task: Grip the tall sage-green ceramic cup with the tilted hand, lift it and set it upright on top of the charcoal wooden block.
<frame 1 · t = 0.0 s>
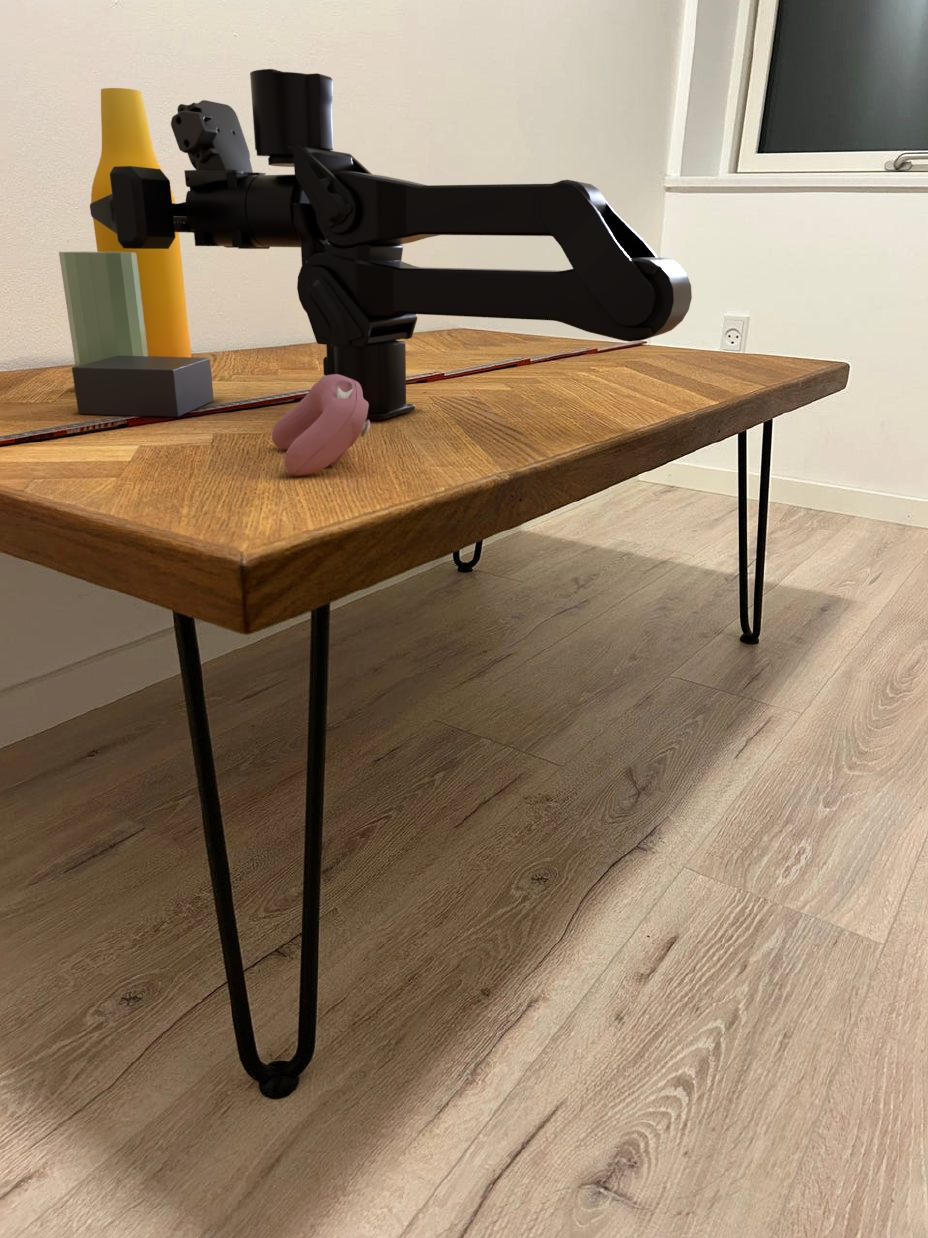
hand: (129, 211, 85), 17 cm above the table, tool horizontal, fingers open, 9 cm apart
cup: (115, 388, 93), on the table
block: (149, 407, 83), on the table
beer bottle: (152, 368, 110), on the table
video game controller: (321, 463, 64), on the table
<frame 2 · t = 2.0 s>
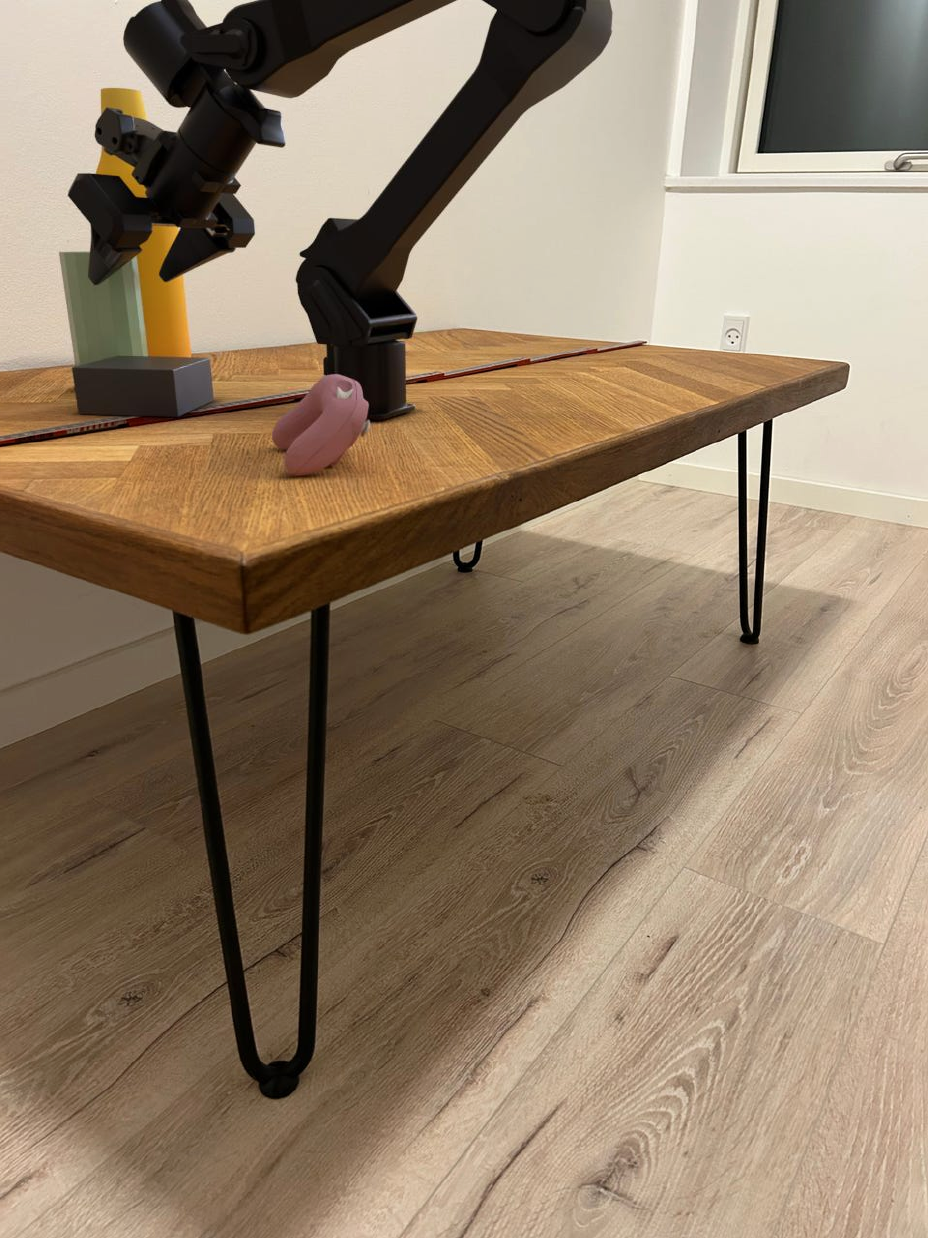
hand: (128, 279, 88), 11 cm above the table, tool tilted 45°, fingers open, 9 cm apart
nothing on the table moved.
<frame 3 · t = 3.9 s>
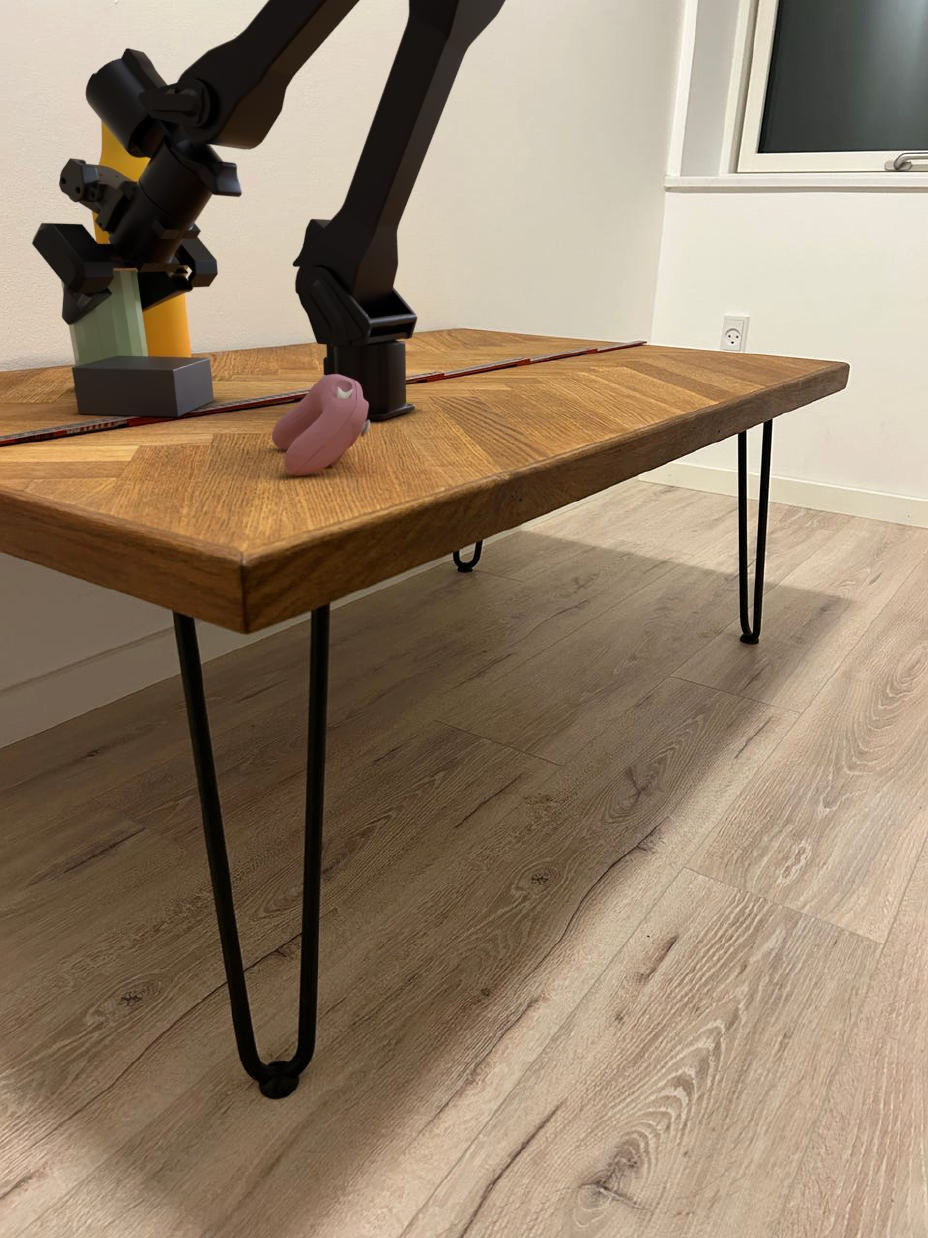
hand: (95, 318, 91), 7 cm above the table, tool tilted 45°, fingers closed on cup, 7 cm apart
cup: (116, 387, 94), on the table, touching gripper
everything else where it was.
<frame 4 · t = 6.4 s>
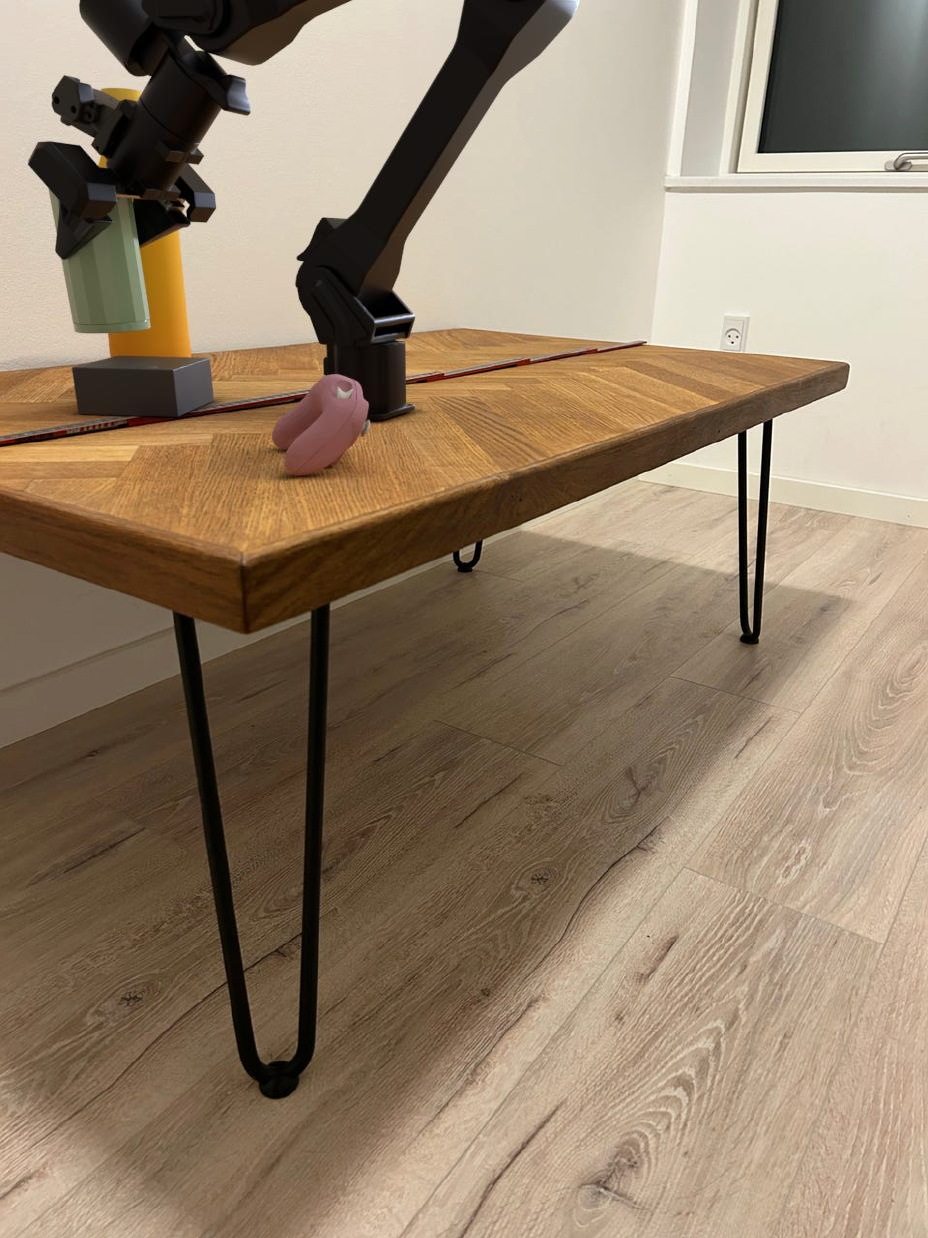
hand: (88, 255, 86), 13 cm above the table, tool tilted 45°, fingers closed on cup, 7 cm apart
cup: (113, 329, 88), point 6 cm above the table, touching gripper
everything else where it was.
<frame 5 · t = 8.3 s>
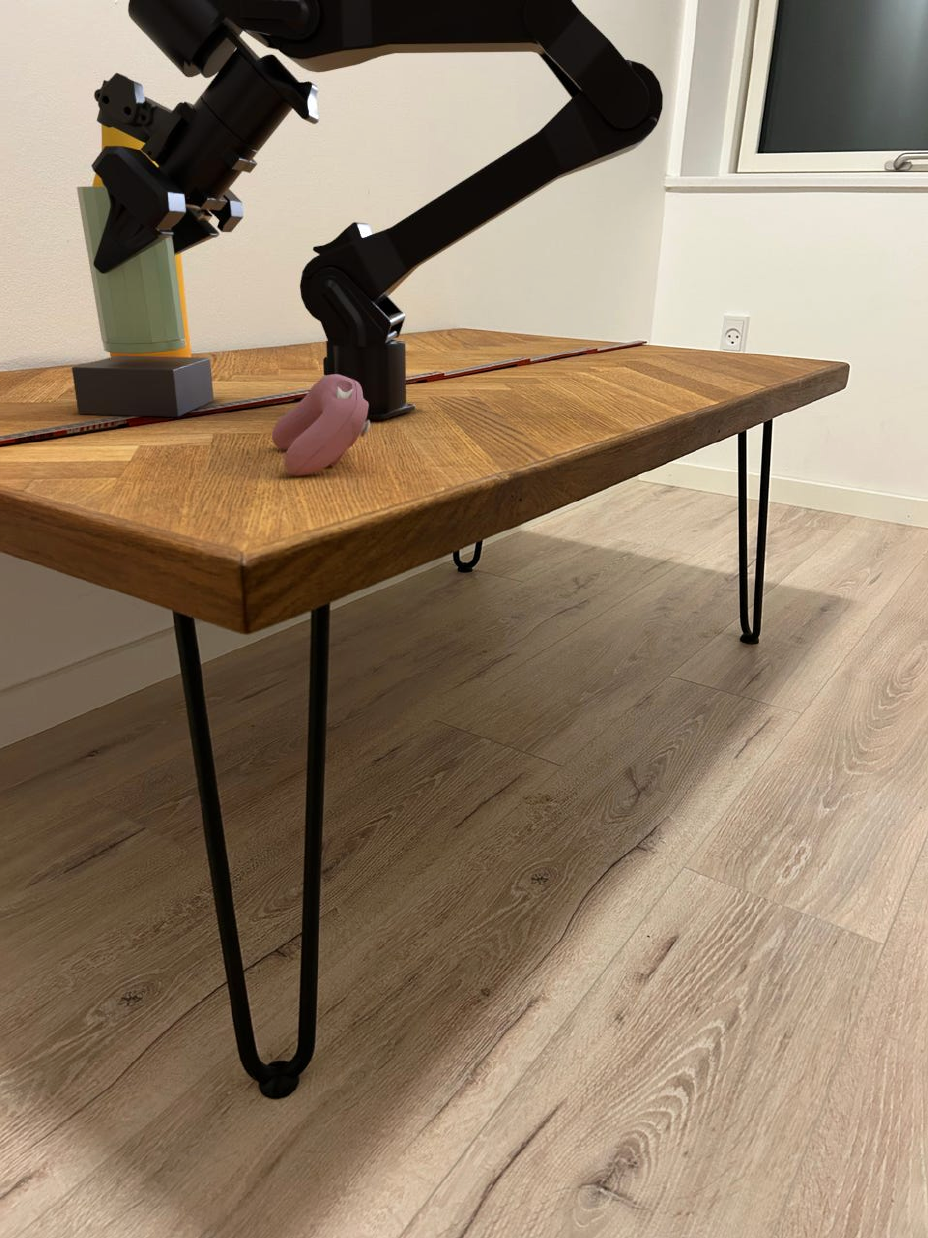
hand: (118, 268, 79), 12 cm above the table, tool tilted 45°, fingers closed on cup, 7 cm apart
cup: (145, 347, 81), point 5 cm above the table, touching gripper
everything else where it was.
when the fingers open (11 cm above the table, at t = 9.3 s): cup stays where it is, resting on block.
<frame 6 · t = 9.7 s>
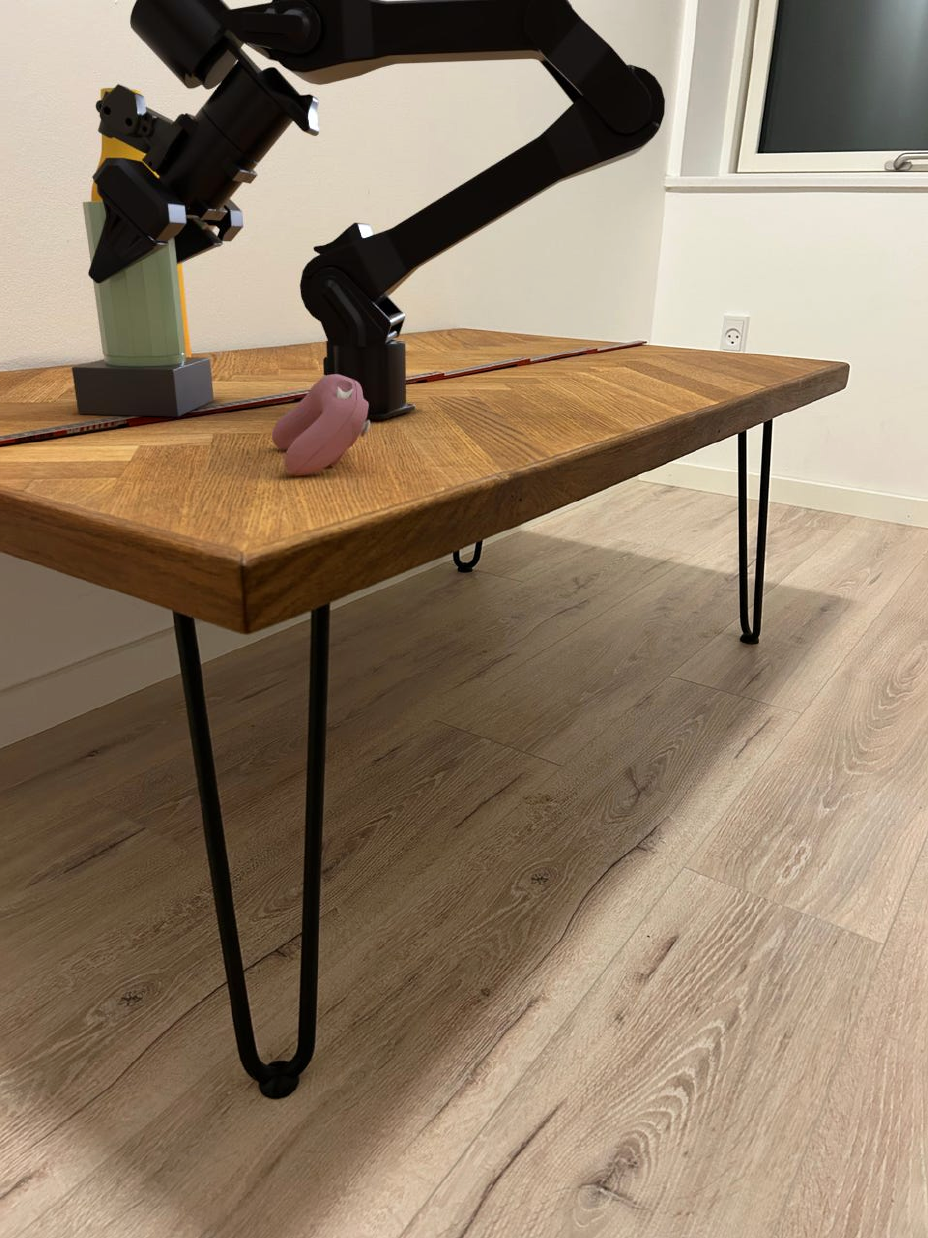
hand: (118, 277, 79), 11 cm above the table, tool tilted 45°, fingers open, 9 cm apart
cup: (146, 361, 82), point 4 cm above the table, touching block
block: (149, 407, 83), on the table, touching cup
everything else where it was.
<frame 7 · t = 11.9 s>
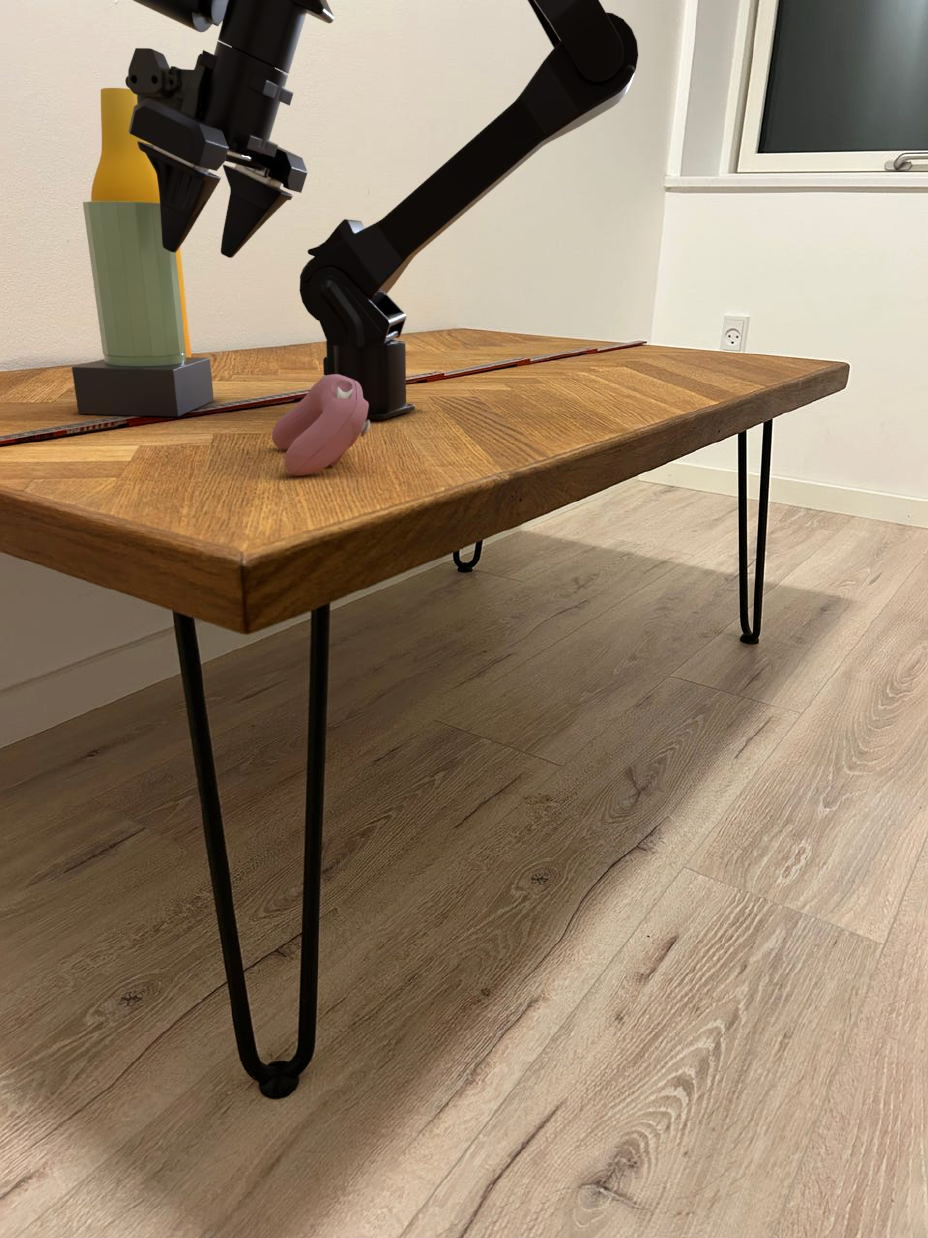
hand: (199, 253, 78), 13 cm above the table, tool tilted 25°, fingers open, 9 cm apart
nothing on the table moved.
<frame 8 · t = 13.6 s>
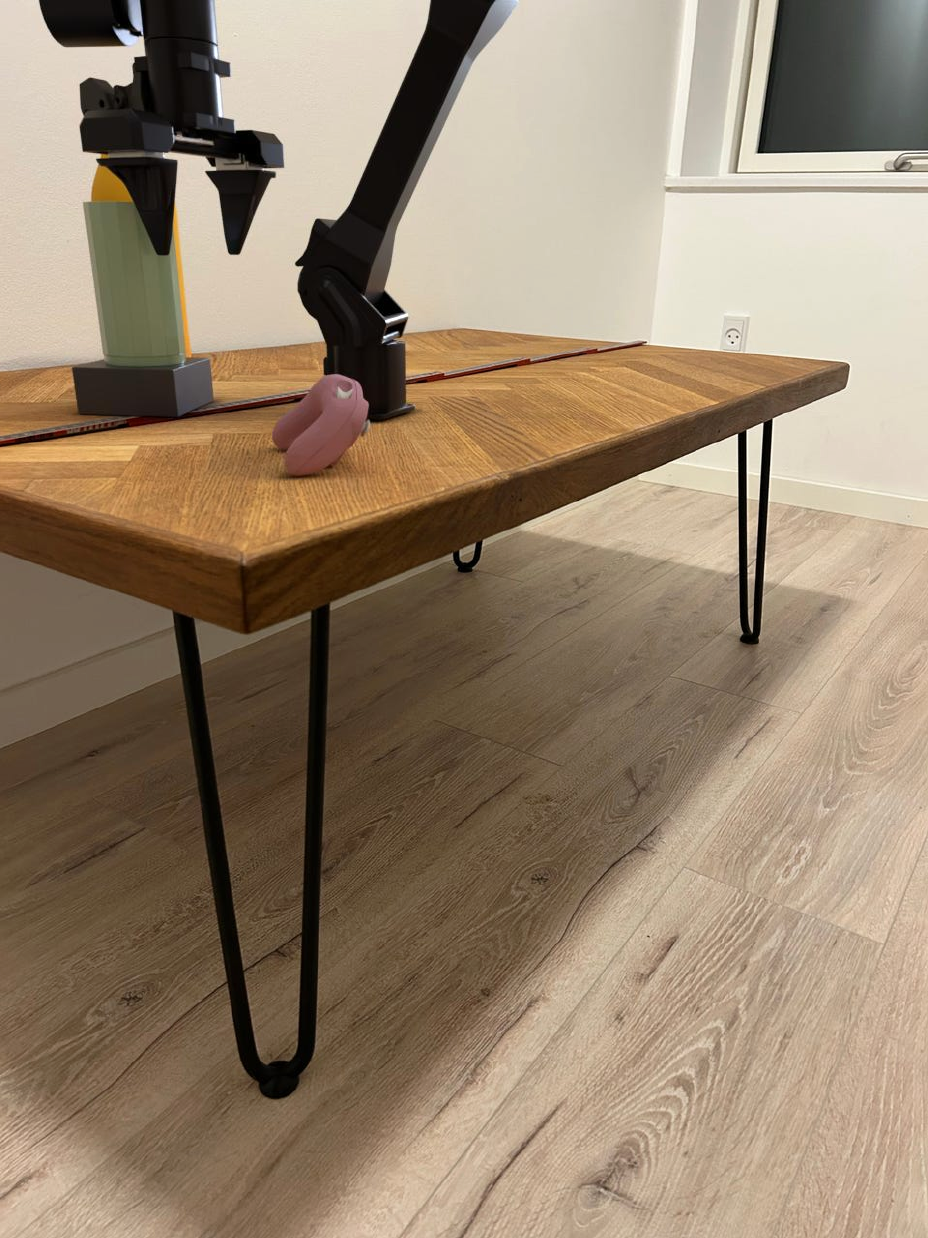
hand: (200, 254, 79), 13 cm above the table, tool pointing down, fingers open, 9 cm apart
nothing on the table moved.
at the end: cup 0.2 cm off-centre on the block, point 4.0 cm above the block's base; cup tilted 0°; the gripper is holding nothing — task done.
